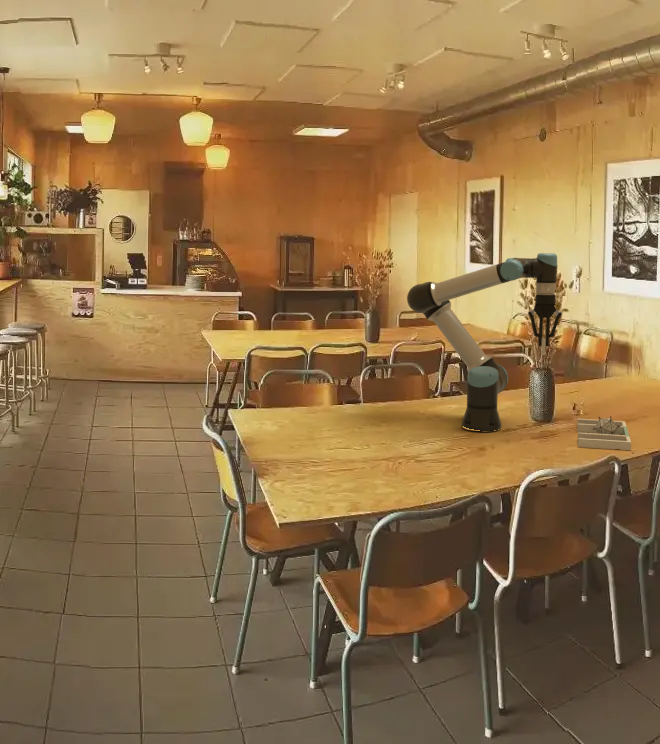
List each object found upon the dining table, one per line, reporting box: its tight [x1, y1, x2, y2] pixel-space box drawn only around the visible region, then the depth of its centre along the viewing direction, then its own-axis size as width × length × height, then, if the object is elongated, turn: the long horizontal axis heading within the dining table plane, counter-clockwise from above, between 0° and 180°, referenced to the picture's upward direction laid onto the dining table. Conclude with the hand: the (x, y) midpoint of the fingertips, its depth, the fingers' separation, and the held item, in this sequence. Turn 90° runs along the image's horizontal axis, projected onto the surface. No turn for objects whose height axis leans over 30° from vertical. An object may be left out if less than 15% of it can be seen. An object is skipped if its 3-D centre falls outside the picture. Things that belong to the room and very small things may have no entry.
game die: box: [593, 415, 620, 435], centre depth 303 cm, size 9×8×10 cm
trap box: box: [576, 418, 632, 451], centre depth 304 cm, size 18×32×3 cm, turn 164°
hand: (543, 354), depth 318 cm, fingers closed
